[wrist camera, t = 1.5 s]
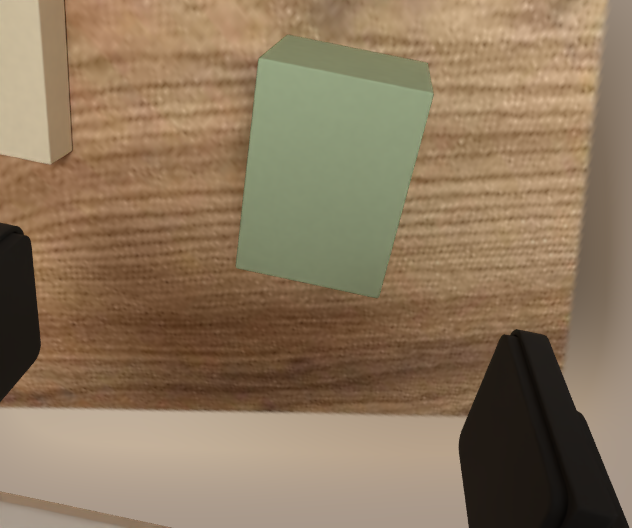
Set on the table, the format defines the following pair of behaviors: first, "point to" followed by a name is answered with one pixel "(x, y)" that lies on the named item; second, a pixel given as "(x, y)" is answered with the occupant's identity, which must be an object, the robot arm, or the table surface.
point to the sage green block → (330, 162)
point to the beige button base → (34, 81)
